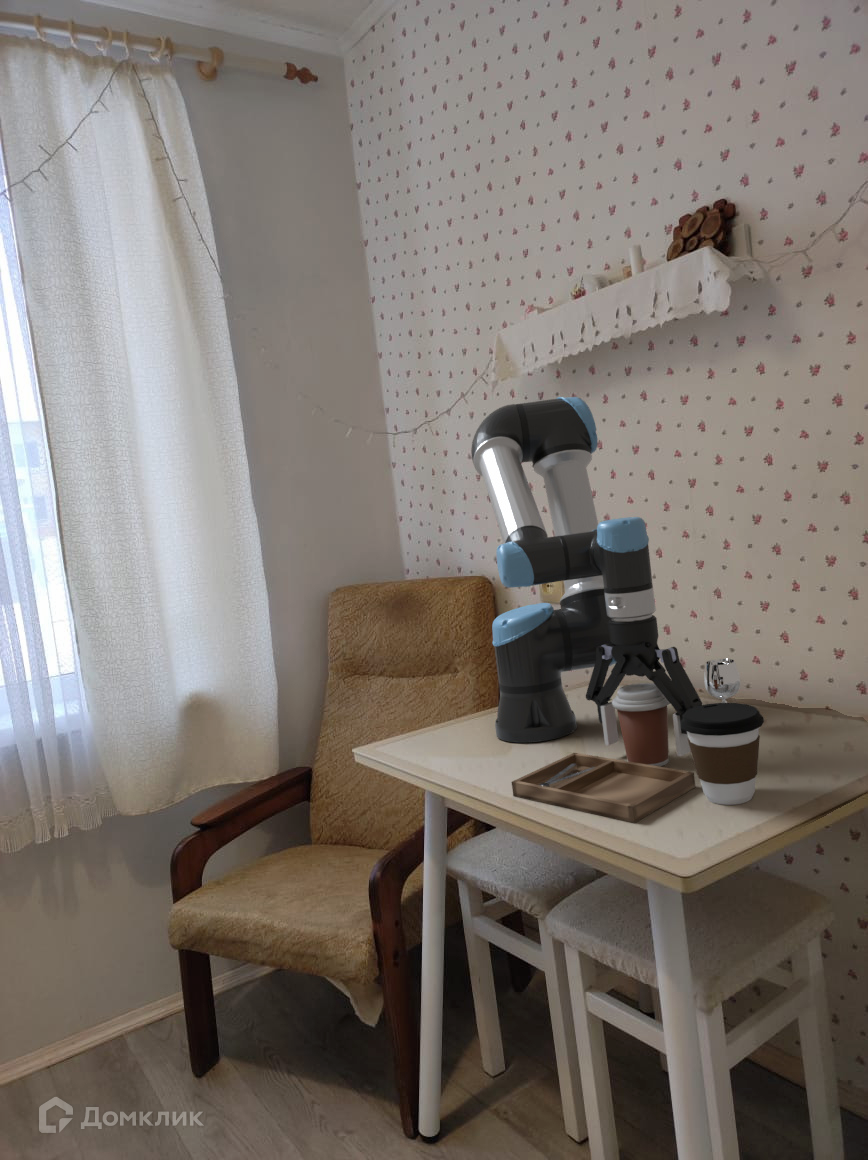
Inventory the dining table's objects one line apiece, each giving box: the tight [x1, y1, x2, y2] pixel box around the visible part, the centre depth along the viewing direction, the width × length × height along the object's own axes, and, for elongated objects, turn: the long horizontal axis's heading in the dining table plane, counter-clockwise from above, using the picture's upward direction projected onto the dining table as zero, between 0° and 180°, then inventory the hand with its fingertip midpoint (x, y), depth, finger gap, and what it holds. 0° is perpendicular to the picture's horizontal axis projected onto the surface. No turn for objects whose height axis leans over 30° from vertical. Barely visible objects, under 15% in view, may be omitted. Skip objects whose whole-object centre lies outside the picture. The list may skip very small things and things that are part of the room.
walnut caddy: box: [511, 752, 696, 824], centre depth 132 cm, size 22×15×2 cm
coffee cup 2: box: [680, 702, 765, 806], centre depth 123 cm, size 11×11×12 cm
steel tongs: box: [539, 764, 595, 788], centre depth 136 cm, size 11×5×1 cm, turn 132°
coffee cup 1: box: [611, 682, 671, 767], centre depth 141 cm, size 9×9×12 cm
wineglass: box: [703, 658, 741, 703], centre depth 152 cm, size 6×6×12 cm
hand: (646, 748), depth 142 cm, fingers open, 13 cm apart
